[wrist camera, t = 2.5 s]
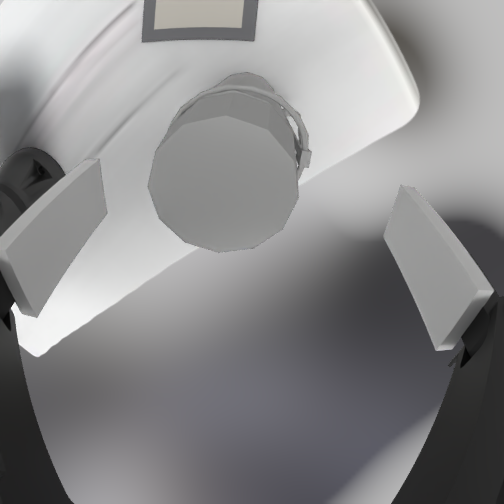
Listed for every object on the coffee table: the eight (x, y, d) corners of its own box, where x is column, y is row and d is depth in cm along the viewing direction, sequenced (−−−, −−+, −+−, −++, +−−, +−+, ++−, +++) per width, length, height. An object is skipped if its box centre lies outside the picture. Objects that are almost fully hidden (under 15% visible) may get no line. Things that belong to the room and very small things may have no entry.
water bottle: (211, 129, 35) (145, 255, 15) (215, 67, 30) (133, 95, 10) (287, 136, 35) (327, 271, 15) (296, 74, 30) (368, 116, 10)
